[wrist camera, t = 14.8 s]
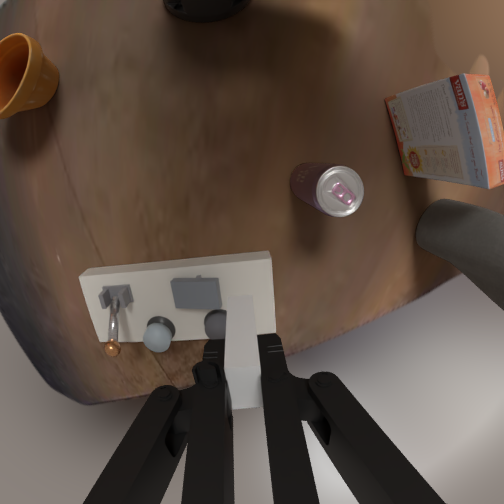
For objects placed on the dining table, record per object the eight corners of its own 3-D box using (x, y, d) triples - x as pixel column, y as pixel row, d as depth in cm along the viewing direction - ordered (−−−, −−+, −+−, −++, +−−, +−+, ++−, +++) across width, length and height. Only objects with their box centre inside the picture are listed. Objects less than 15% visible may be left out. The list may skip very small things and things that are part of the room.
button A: (203, 312, 45) (202, 319, 43) (231, 310, 45) (231, 316, 43) (208, 335, 46) (207, 342, 45) (234, 333, 47) (234, 340, 45)
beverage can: (312, 207, 45) (345, 229, 31) (281, 186, 44) (303, 197, 30) (333, 177, 44) (375, 186, 30) (303, 155, 43) (335, 152, 29)
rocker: (173, 277, 43) (170, 281, 41) (218, 277, 41) (215, 281, 40) (179, 304, 44) (175, 308, 43) (222, 304, 43) (219, 309, 41)
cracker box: (428, 169, 44) (513, 183, 24) (402, 175, 44) (488, 192, 25) (409, 94, 40) (491, 74, 20) (383, 97, 40) (463, 72, 20)
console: (88, 268, 46) (70, 283, 40) (268, 250, 47) (274, 265, 40) (107, 330, 50) (94, 351, 44) (273, 320, 51) (278, 342, 44)
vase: (404, 258, 49) (518, 342, 20) (411, 192, 45) (549, 236, 17) (450, 256, 50) (556, 323, 21) (457, 196, 46) (579, 237, 17)
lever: (105, 293, 42) (101, 354, 37) (119, 292, 42) (115, 354, 37) (112, 299, 44) (108, 358, 39) (126, 298, 44) (123, 358, 39)
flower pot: (80, 92, 37) (37, 76, 25) (25, 137, 38) (-21, 137, 26) (62, 38, 33) (25, 16, 20) (11, 82, 34) (-30, 74, 22)
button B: (143, 323, 44) (139, 329, 42) (168, 322, 44) (166, 328, 42) (149, 345, 45) (146, 352, 43) (174, 344, 45) (172, 351, 43)
